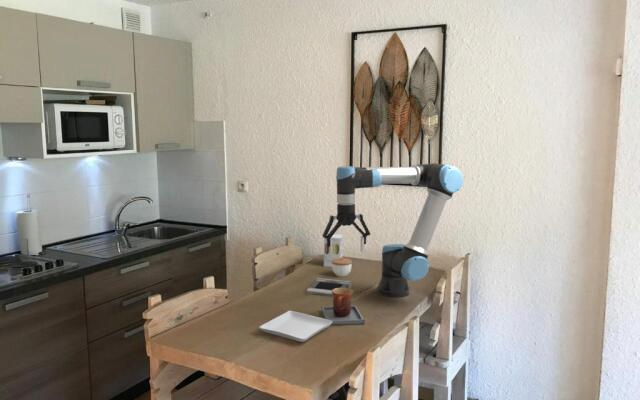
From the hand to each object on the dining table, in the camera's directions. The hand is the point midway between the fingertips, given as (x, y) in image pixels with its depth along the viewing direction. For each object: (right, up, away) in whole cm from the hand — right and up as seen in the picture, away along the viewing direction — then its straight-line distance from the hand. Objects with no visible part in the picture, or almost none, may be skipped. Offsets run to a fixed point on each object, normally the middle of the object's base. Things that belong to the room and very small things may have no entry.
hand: (346, 252), depth 232 cm
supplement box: (-4, -14, +75) cm, 77 cm away
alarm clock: (-7, -22, +30) cm, 38 cm away
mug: (-3, -26, -6) cm, 27 cm away
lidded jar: (0, -17, +56) cm, 58 cm away
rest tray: (-2, -26, -5) cm, 27 cm away
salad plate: (-20, -29, -20) cm, 41 cm away
